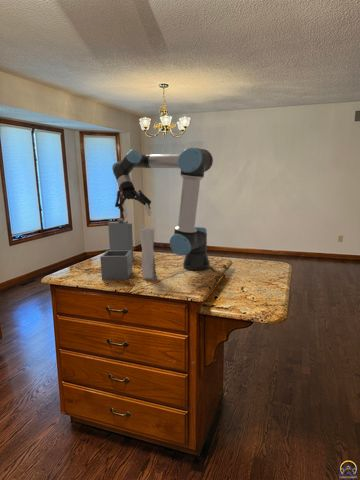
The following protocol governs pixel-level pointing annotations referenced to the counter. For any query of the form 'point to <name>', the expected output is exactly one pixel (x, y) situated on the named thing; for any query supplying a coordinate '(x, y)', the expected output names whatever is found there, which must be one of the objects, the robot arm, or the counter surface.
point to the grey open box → (116, 264)
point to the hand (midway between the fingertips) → (138, 215)
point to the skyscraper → (148, 253)
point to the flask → (120, 236)
